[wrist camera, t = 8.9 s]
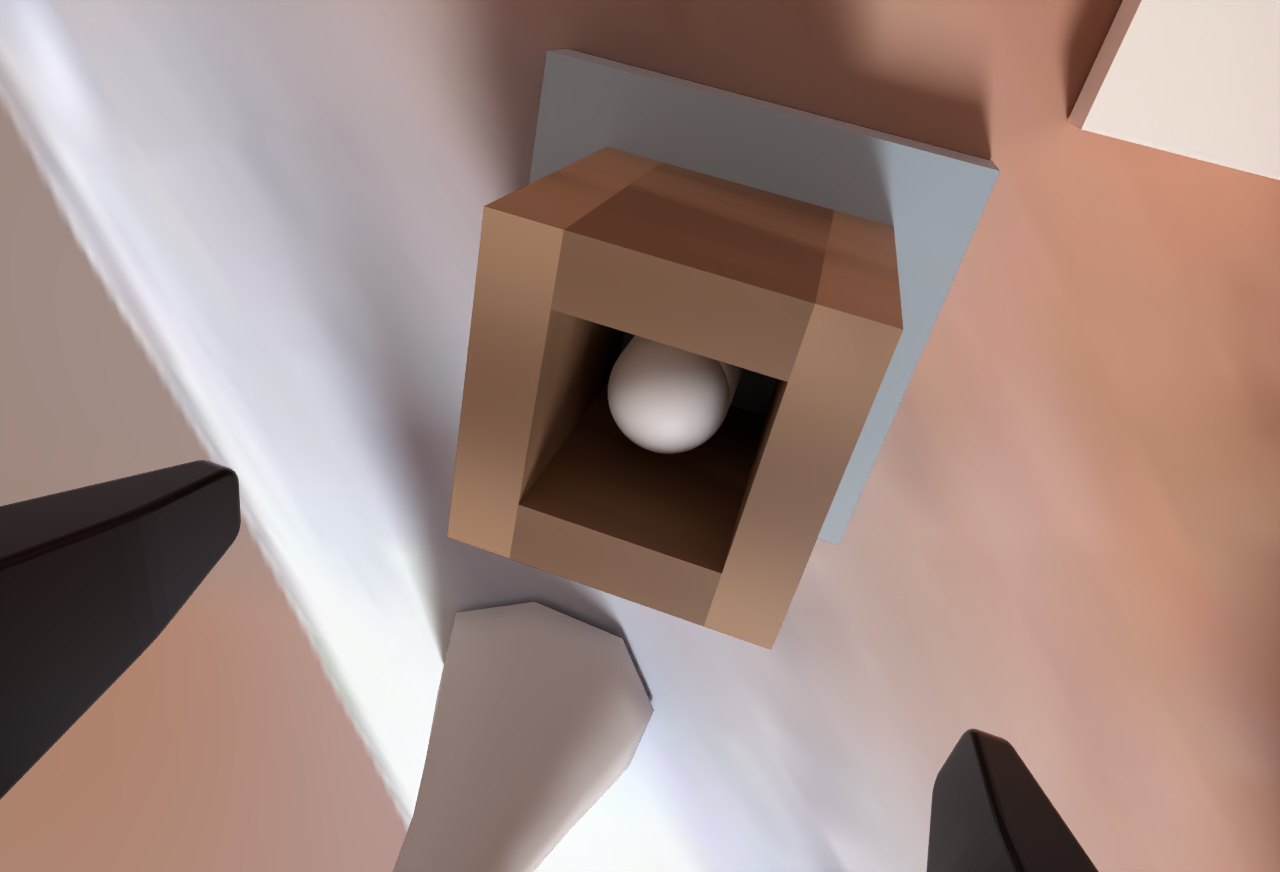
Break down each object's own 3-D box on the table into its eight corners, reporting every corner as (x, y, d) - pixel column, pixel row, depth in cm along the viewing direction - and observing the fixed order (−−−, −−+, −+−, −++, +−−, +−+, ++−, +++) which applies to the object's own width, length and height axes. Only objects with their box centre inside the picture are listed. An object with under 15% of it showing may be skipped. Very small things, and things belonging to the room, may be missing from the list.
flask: (429, 580, 25) (199, 871, 17) (653, 613, 23) (525, 957, 15) (460, 743, 28) (281, 1057, 20) (658, 783, 27) (555, 1145, 18)
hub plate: (992, 161, 16) (1050, 232, 11) (840, 519, 20) (828, 692, 15) (567, 48, 17) (428, 63, 12) (512, 412, 21) (395, 540, 16)
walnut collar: (799, 475, 19) (771, 649, 14) (560, 398, 19) (447, 536, 14) (893, 226, 16) (902, 329, 11) (606, 146, 16) (484, 206, 11)
